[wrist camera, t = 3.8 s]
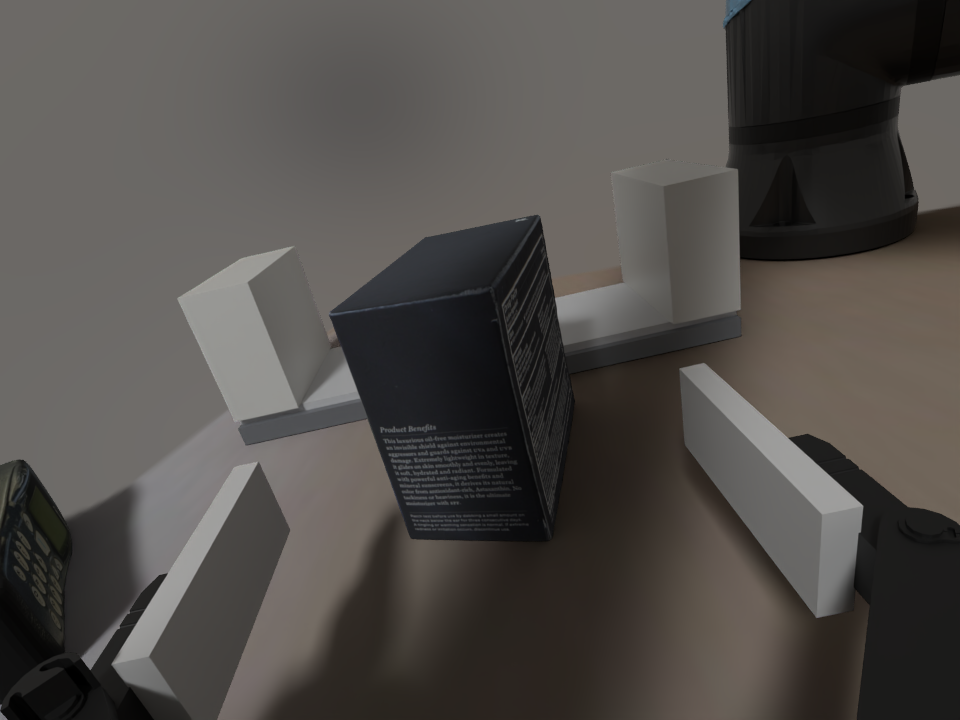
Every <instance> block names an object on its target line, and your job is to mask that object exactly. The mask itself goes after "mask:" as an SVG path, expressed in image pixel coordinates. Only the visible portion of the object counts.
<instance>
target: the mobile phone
mask: <svg viewBox="0 0 960 720" xmlns="http://www.w3.org/2000/svg"><path fill="white" fill-rule="evenodd" d="M71 554H72V543H71V536H70V532H69V528H68V526H67V524H66V522H65V520H64V518H63V516H62V514H61V513H60V511H59V509H58V507H57V506H56V504H55V503H54V501H53V499H52V498H51V496H50V495H49V493H48V492H47V490H46V489H45V487H44V486H43V484H42V483H41V482H40V480H39V479H38V477H37V475H36V474H35V473H34V471H33V470H32V468H31V467H30V466H29V465H28V464H27V463H26V462H25V461H24V460H15V461H11V462H8V463H5V464H3V465H0V704H2V703H3V700H4V698H5V697H6V695H7V694H8V693H9V691H10V690H11V688H12V687H13V686H14V685H15V684H16V683H17V682H18V681H19V680H20V679H21V678H22V677H23V676H24V675H25V674H27V673H28V672H29V671H31V670H32V669H33V668H35V667H36V666H37V665H39V664H40V663H42V662H44V661H46V660H48V659H50V658H52V657H54V656H57V655H60V654H63V653H64V646H63V640H64V586H65V579H66V573H67V568H68V564H69V559H70V556H71Z"/></svg>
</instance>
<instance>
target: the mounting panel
mask: <svg viewBox="0 0 960 720" xmlns="http://www.w3.org/2000/svg"><path fill="white" fill-rule="evenodd" d="M555 301H556V306H557V316H558V321H559V327H560V331H561V336H562V342H563V346H564V353H565V357H566V362H567V367H568V371H569V374H571V373H576V372H580V371H585V370H589V369H594V368H598V367H603V366H607V365H612V364H617V363H621V362H626V361H630V360H635V359H639V358H644V357H648V356H653V355H657V354H662V353H666V352H671V351H676V350H680V349H685V348H689V347H694V346H698V345H703V344H707V343H712V342H716V341H721V340H726V339H730V338H735V337H739V336H741V317H739V316H738V315H737V311H733V312H728V313H724V314H719V315H715V316H710V317H706V318H701V319H697V320H692V321H688V322H683V323H679V324H674V325H673V324H672V323H671V322H670V321H669V320H668V319H666V318H665V317H664V316H663V315H662V314H661V313H659V312H658V311H657V310H656V309H655V308H654V307H653V306H651V305H650V304H649V303H648V302H647V301H646V300H644V299H643V298H642V297H641V296H640V295H639V294H637V293H636V292H635V291H634V290H633V289H632V288H630V287H629V286H628V285H627V284H626V283H625V282H624V283H620V284H615V285H611V286H606V287H602V288H598V289H593V290H589V291H584V292H580V293H575V294H571V295H567V296H562V297H558V298H555ZM362 419H367V416H366V413H365V410H364V408H363V405H362V402H361V400H360V397H359V394H358V391H357V389H356V386H355V383H354V380H353V378H352V375H351V372H350V370H349V367H348V364H347V362H346V359H345V356H344V353H343V351H342V348H341V346H340V347H336V348H331V349H330V350H329V352H328V353H327V355H326V357H325V359H324V361H323V363H322V365H321V366H320V368H319V370H318V372H317V374H316V376H315V378H314V380H313V381H312V383H311V385H310V387H309V389H308V391H307V393H306V395H305V396H304V398H303V400H302V402H301V404H300V406H299V408H296V409H291V410H287V411H282V412H278V413H273V414H269V415H264V416H260V417H255V418H251V419H246V420H242V421H240V424H241V426H240V427H239V428H238V430H239V432H240V434H241V436H242V438H243V440H244V442H245V445H249V444H253V443H258V442H262V441H267V440H271V439H276V438H281V437H285V436H290V435H294V434H299V433H303V432H308V431H312V430H317V429H321V428H326V427H330V426H335V425H340V424H344V423H349V422H353V421H358V420H362Z"/></svg>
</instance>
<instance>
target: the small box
mask: <svg viewBox="0 0 960 720" xmlns="http://www.w3.org/2000/svg"><path fill="white" fill-rule="evenodd" d="M329 316H330V319H331V320H332V323H333V326H334V329H335V332H336V335H337V337H338V340H339V342H340V345H341V348H342V351H343V353H344V356H345V359H346V362H347V364H348V367H349V370H350V372H351V375H352V378H353V380H354V383H355V386H356V389H357V391H358V394H359V397H360V400H361V402H362V405H363V408H364V410H365V413H366V416H367V419H368V422H369V424H370V427H371V430H372V432H373V435H374V438H375V440H376V443H377V446H378V449H379V452H380V454H381V457H382V460H383V462H384V465H385V468H386V471H387V474H388V477H389V479H390V482H391V485H392V488H393V491H394V493H395V496H396V499H397V502H398V505H399V508H400V511H401V513H402V516H403V518H404V521H405V524H406V527H407V530H408V533H409V535H410V538H411V539H427V540H428V539H431V540H485V541H548V540H550V539H551V538H552V536H553V529H554V524H555V519H556V514H557V508H558V503H559V495H560V490H561V484H562V481H563V472H564V466H565V460H566V454H567V447H568V444H569V436H570V430H571V423H572V417H573V410H574V403H575V399H574V395H573V391H572V386H571V380H570V376H569V371H568V367H567V362H566V357H565V353H564V346H563V342H562V336H561V331H560V327H559V321H558V316H557V306H556V301H555V296H554V290H553V285H552V279H551V272H550V269H549V263H548V258H547V252H546V245H545V239H544V235H543V229H542V223H541V219H540V216H539V215H534V216H529V217H524V218H519V219H514V220H510V221H504V222H499V223H494V224H490V225H485V226H480V227H475V228H470V229H465V230H460V231H456V232H451V233H446V234H441V235H436V236H431V237H425V238H424V239H423V240H421V241H420V242H419V243H418V244H416V245H415V246H414V247H413V248H411V249H410V250H409V251H407V252H406V253H405V254H404V255H402V256H401V257H400V258H398V259H397V260H396V261H395V262H393V263H392V264H391V265H390V266H388V267H387V268H386V269H385V270H383V271H382V272H381V273H379V274H378V275H377V276H376V277H374V278H373V279H372V280H370V281H369V282H368V283H367V284H366V285H364V286H363V287H362V288H360V289H359V290H358V291H356V292H355V293H354V294H353V295H351V296H350V297H349V298H347V299H346V300H345V301H344V302H342V303H341V304H340V305H338V306H337V307H336V308H335V309H333V310H332V311H330V313H329Z"/></svg>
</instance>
